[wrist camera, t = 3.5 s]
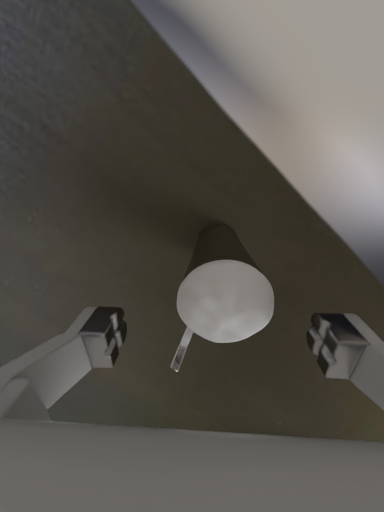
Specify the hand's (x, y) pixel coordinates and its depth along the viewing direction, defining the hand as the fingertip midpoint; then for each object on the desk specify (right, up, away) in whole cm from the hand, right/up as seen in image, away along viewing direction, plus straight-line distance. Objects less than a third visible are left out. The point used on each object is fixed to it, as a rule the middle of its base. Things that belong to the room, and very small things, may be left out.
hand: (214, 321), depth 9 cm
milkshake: (+1, +4, +8) cm, 9 cm away
